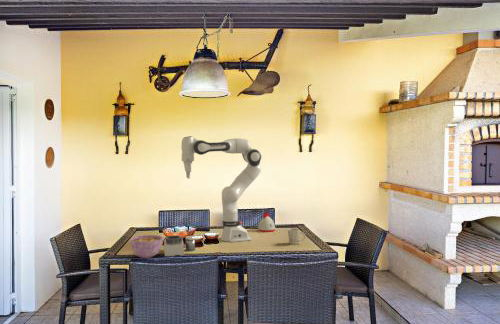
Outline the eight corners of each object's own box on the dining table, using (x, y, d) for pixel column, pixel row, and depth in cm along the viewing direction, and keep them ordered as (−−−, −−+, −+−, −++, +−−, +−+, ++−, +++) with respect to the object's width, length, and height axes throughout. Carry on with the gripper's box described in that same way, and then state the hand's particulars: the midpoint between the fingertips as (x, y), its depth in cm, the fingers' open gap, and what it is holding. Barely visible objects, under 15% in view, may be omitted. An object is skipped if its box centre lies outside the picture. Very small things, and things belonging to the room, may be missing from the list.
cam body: (182, 248, 286) (182, 234, 286) (183, 255, 269) (183, 240, 268) (164, 249, 284) (164, 235, 283) (164, 256, 266) (164, 241, 266)
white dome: (255, 231, 343) (254, 212, 342) (263, 228, 355) (263, 210, 354) (270, 233, 336) (269, 214, 335) (278, 229, 347) (278, 211, 347)
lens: (194, 248, 286) (194, 235, 286) (195, 250, 280) (195, 237, 280) (185, 249, 285) (185, 235, 284) (186, 251, 279) (185, 237, 278)
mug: (287, 242, 303) (287, 228, 303) (304, 241, 303) (304, 228, 303) (288, 244, 295) (288, 230, 294) (306, 244, 295) (306, 230, 295)
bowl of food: (153, 251, 280) (153, 233, 280) (168, 256, 265) (168, 238, 265) (124, 256, 267) (124, 238, 266) (139, 262, 252) (139, 243, 251)
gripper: (193, 159, 294) (193, 178, 294) (191, 158, 314) (191, 176, 314) (183, 159, 293) (184, 179, 293) (182, 158, 313) (183, 177, 313)
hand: (188, 177), depth 304 cm, fingers open, 8 cm apart
